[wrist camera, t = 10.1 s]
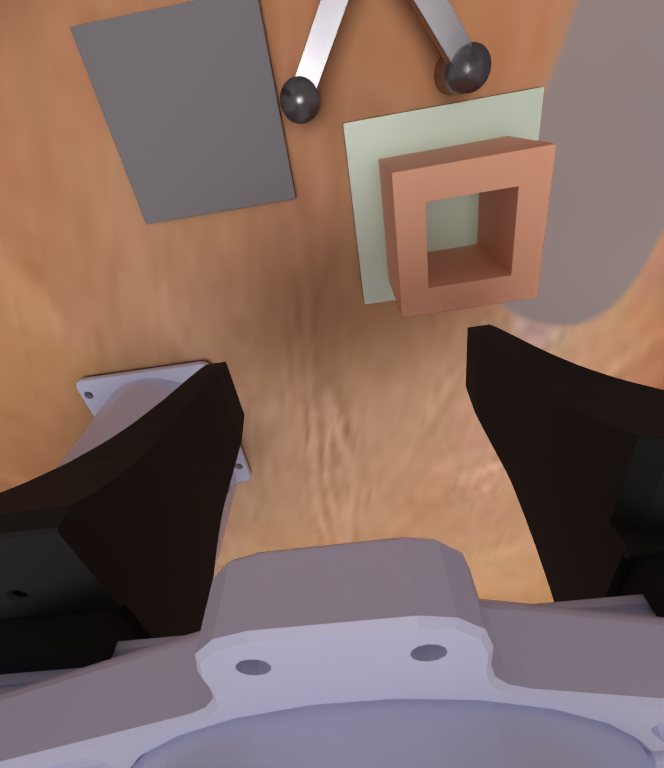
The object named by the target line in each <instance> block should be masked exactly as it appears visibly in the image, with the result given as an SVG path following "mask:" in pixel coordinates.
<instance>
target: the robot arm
mask: <svg viewBox="0 0 664 768" xmlns="http://www.w3.org/2000/svg"><path fill="white" fill-rule="evenodd" d="M76 388H77V390H78V392H79V393H80V395H81V397H82V398H83V400H84V401H85V403H86V405H87V406H88V408H89V410H90V411H91V413H92V415H93V416H94V419H93V420H92V421H91V423H90V424H89V425H88V427H87V428H86V429H85V431H84V432H83V433H82V435H81V436H80V437H79V439H78V440H77V441H76V443H75V444H74V445H73V447H72V448H71V449H70V451H69V452H68V453H67V455H66V456H65V457H64V459H63V460H62V461H61V463H60V464H59V465H58V467H57V468H56V469H54V470H52V471H50V472H48V473H46V474H43V475H41V476H39V477H37V478H35V479H33V480H30V481H28V482H26V483H24V484H21V485H19V486H17V487H14V488H12V489H9V490H7V491H4V492H2V493H0V768H664V390H661V389H657V388H653V387H649V386H645V385H641V384H637V383H633V382H629V381H625V380H622V379H618V378H615V377H611V376H608V375H605V374H602V373H599V372H596V371H593V370H590V369H587V368H584V367H582V366H579V365H576V364H574V363H571V362H569V361H567V360H564V359H562V358H559V357H557V356H555V355H552V354H550V353H548V352H546V351H544V350H542V349H539V348H537V347H535V346H533V345H531V344H529V343H527V342H525V341H523V340H521V339H519V338H517V337H515V336H513V335H511V334H509V333H507V332H505V331H503V330H501V329H499V328H497V327H494V326H492V325H483V326H476V327H469V328H468V337H467V368H466V388H467V391H468V394H469V397H470V400H471V402H472V405H473V408H474V411H475V413H476V415H477V417H478V419H479V421H480V423H481V425H482V427H483V429H484V431H485V433H486V434H487V436H488V438H489V440H490V442H491V444H492V446H493V448H494V449H495V451H496V453H497V455H498V457H499V459H500V461H501V463H502V464H503V466H504V468H505V470H506V472H507V474H508V476H509V478H510V480H511V483H512V485H513V487H514V490H515V492H516V495H517V498H518V500H519V503H520V505H521V508H522V510H523V513H524V515H525V518H526V521H527V524H528V526H529V529H530V532H531V535H532V537H533V540H534V543H535V545H536V548H537V551H538V554H539V557H540V560H541V563H542V566H543V569H544V572H545V575H546V578H547V581H548V584H549V587H550V590H551V593H552V596H553V599H554V602H550V603H539V604H526V603H516V602H506V601H497V600H487V599H479V598H478V594H477V591H476V588H475V585H474V581H473V578H472V575H471V572H470V569H469V567H468V565H467V562H466V560H465V558H464V556H463V553H461V552H459V551H457V550H455V549H453V548H451V547H449V546H447V545H445V544H443V543H441V542H439V541H437V540H434V539H423V538H407V537H401V538H391V539H382V540H372V541H362V542H353V543H343V544H334V545H324V546H314V547H305V548H295V549H286V550H276V551H267V552H259V553H256V554H252V555H249V556H245V557H242V558H239V559H235V560H233V561H231V562H229V563H228V564H227V565H226V566H225V567H224V568H223V569H222V570H221V571H220V572H219V573H218V574H217V575H216V576H215V577H214V578H213V576H214V568H215V563H216V561H217V558H218V556H219V553H220V549H221V545H222V541H223V537H224V532H225V528H226V524H227V520H228V516H229V511H230V507H231V503H232V499H233V495H234V491H235V486H236V483H237V482H245V481H248V480H249V479H250V477H251V471H250V469H249V466H248V463H247V460H246V458H245V455H244V452H243V450H242V447H241V440H242V432H243V423H244V413H243V410H242V407H241V404H240V401H239V398H238V395H237V393H236V390H235V387H234V384H233V381H232V378H231V375H230V372H229V369H228V367H227V364H226V362H221V363H214V364H209V363H207V362H205V361H199V362H192V363H185V364H177V365H170V366H163V367H156V368H149V369H142V370H135V371H128V372H121V373H114V374H107V375H100V376H93V377H86V378H82V379H80V380H79V381H78V382H77V383H76ZM88 392H91V393H92V394H93V395H91V394H89V393H88ZM238 464H241V465H238Z"/></svg>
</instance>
